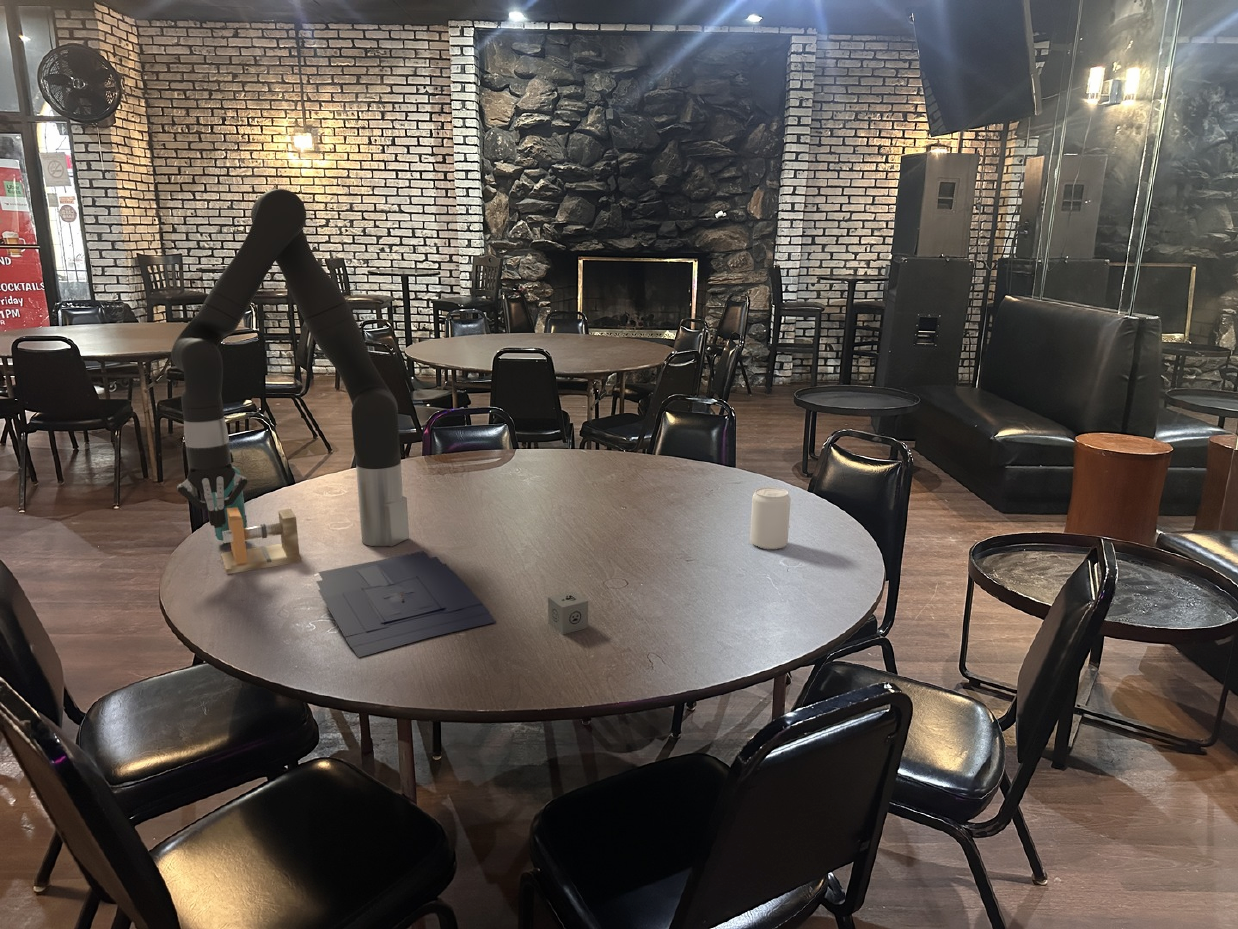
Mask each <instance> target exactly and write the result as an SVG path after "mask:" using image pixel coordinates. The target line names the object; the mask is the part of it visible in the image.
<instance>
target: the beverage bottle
mask: <svg viewBox="0 0 1238 929" xmlns="http://www.w3.org/2000/svg"><path fill="white" fill-rule="evenodd" d="M230 456H231V464H232V463H234V462H235V461H234V456H233V453H232V452H231V451H230ZM232 467H233V468H234V470H235V473H236V474H238V475H240V476H242V475H241V474H242V473H241V471H240V470H239V469H238V468H237V467H235V466H232ZM233 481H234V478H233V479H232V481H231V483H230V484H229V486H228V487H227V489H226V490H224V499H225V498H226V497H227V496H228V494H229V493H230V491H231V490H232V488H233V487H234V483H233ZM244 493H245V492H244V489H243V490H242V491H241V493H240V494H239V496H238V497H237V499H236V500H235V502H234V503H233V504H232V505H228V506H226V507H225V509H224V511H225V519H226V522H225V524H222V526H223V527H221V528H219V527H218V528H214V527H213V528H214V534H215V537H216V539H217V540H218V541H222V542H224V541H223V533H222V531H227V530H229V524H228V515H227V508H233V507H238V510H239V512H240V514H241V517H242V519H243V527H244V528H248V520H247V515H246V506H245V501H244V500H245V496H244V495H245V494H244ZM212 497H213V502H214V506H215V508H216V507H217V505H216V492H213V493H212Z"/></svg>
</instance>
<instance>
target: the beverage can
mask: <svg viewBox="0 0 1238 929" xmlns="http://www.w3.org/2000/svg"><path fill="white" fill-rule="evenodd" d="M751 499H752V500H751V513H750V514H751V516H750V535H749V536H750V537H749V542H750V543H751V544H752V545H753V546H755V547H757V546H758V548H759V547H760V548H759V549H762V548H763V550H779V549H781V548H785V547H786V546H787V545H788V542H789V527H790V512H791V511H790V510H791V496H790V495H789V491H788V490H786V489H784V488H780V487H772V486H767V487H765V486H764V487H759V488H755V491H754V493H753V495H752V498H751ZM778 548H779V549H778Z"/></svg>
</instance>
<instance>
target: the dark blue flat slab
mask: <svg viewBox="0 0 1238 929" xmlns="http://www.w3.org/2000/svg"><path fill="white" fill-rule="evenodd" d="M317 573H318V575H319V577H320V578H321V579H322V580H316V581H315V582H316V584H317V586H318V587H319V589H318V593H319V594H320V596H321V598H322V600H323V602H324V604H325V605H326V606H327V609H328V610H329V612H330V614H331V616H332V618H333V619H334V620H335V622H336V624H337V626H338V627H339V628H338V629H340V630H341V632H342V634H343V637H344V638H345V640H346V642H347V643H348V645H349V647H350V648H352V650H353V652H354V653H355V655H356V656H357V657H358V658H361V657H365V656H368V655H372V654H376V653H379V652H383V651H386V650H390V649H393V648H397V647H400V646H404V645H406V644H411V643H415V642H417V641H418V642H419V641H421V640H425V639H429V638H433V637H436V636H442V635H445V634H450V633H455V632H458V631H459V632H460V631H463V630H469V629H472V628H476V627H479V626H480V627H481V626H485V625H490V624H493V623H497V621H496V619H495V618H494V617H493V616H492V614H491V613H490V611H489V610H488V608H487V607H486V606H485V605H484V603H483V602H482V601H481V599H479V598H478V597H477V595H476V594H475V593H474V592H473V591H472V589H470V587H469V586H468V585H467V584H466V583H465V582H464V581H463V580H462V578H460V576H458V574H457V573H456V572H455V570H453V569H452V568H451V567H450V566H449V565H447V564H446V563H443V562H442V561H441V560H440V559H439V557H437V556H434V557H431V556H430V555H429V554H428V553H427V552H426V551H424V550H422V551H417V552H412V553H409V554H408V553H407V554H404V555H403V554H402V555H399V556H398V555H397V556H393V557H389V558H385V559H384V558H383V559H378V560H375V561H374V560H373V561H369V562H364V563H357V564H353V565H348V566H343V567H338V568H332V569H327V570H321V571H318V572H317Z"/></svg>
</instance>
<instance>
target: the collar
mask: <svg viewBox="0 0 1238 929" xmlns="http://www.w3.org/2000/svg"><path fill="white" fill-rule="evenodd" d="M227 515H228V524H229V530H232V538H233V542H230V548H231V552H232V553H233V556H234V559H235V561H236V564H242V563H247V554H246V549H247V547H246V540H245V536H244V527H243V519H242V517H241V514H240V512H239V510H238V507H233V508H227Z"/></svg>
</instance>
